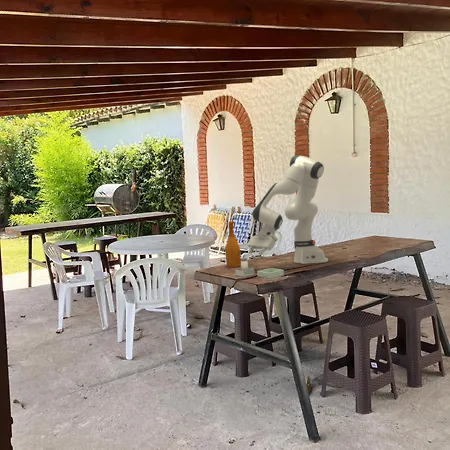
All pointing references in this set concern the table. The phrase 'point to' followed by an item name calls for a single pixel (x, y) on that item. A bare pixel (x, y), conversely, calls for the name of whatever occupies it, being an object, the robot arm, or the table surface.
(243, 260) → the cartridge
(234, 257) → the wine bottle
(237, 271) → the housing
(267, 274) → the tray
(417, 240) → the table surface
